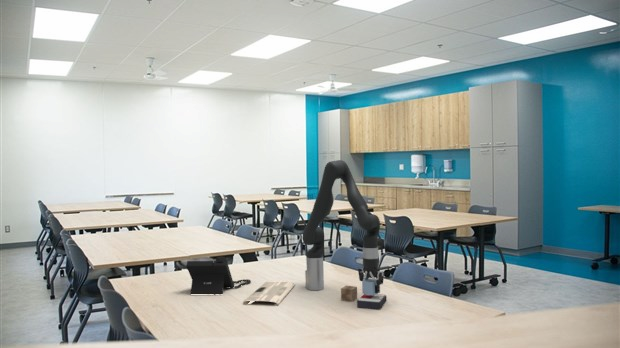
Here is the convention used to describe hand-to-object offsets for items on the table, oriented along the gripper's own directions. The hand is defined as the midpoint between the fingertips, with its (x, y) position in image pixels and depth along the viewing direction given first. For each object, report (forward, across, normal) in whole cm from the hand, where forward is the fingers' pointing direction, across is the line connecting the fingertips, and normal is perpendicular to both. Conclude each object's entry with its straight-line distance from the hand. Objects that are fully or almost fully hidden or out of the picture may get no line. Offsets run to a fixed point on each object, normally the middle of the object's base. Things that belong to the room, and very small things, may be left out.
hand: (371, 291), depth 216 cm
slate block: (+1, 0, 0) cm, 1 cm away
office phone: (+7, -82, -30) cm, 87 cm away
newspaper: (+7, -49, -20) cm, 54 cm away
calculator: (+7, 0, 0) cm, 7 cm away
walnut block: (+6, -13, -1) cm, 14 cm away
